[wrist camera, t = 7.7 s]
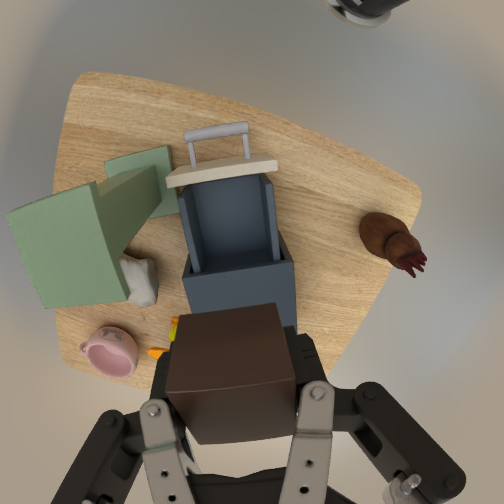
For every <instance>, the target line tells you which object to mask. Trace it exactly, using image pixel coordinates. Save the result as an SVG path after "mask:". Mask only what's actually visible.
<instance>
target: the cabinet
mask: <svg viewBox="0 0 504 504" xmlns="http://www.w3.org/2000/svg"><path fill="white" fill-rule="evenodd" d="M278 239H279V250H280V261H274V262H267V263H261V264H254V265H248V266H241V267H234V268H228V269H221V270H214V271H207V272H201V273H194V270H193V266H192V262H191V258H190V254H188V258H187V261H186V265H185V269H184V273H183V276H182V281H183V284H184V288H185V291H186V294H187V298H188V301H189V304H190V308H191V311H192V314H195V313H203V312H211V311H218V310H226V309H233V308H240V307H247V306H253V305H260V304H266V303H272V302H276V304H277V307H278V311H279V315H280V319H281V323H282V327H284V326H290V325H294V328H295V331H296V334H297V312H296V293H295V276H294V262H293V259H292V257H291V255H290V253H289V251H288V249H287V247H286V244H285V242H284V240H283V238H282V236H281V234H280V232H279V231H278Z"/></svg>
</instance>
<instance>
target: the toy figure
mask: <svg viewBox="0 0 504 504" xmlns="http://www.w3.org/2000/svg"><path fill="white" fill-rule="evenodd" d="M178 319H179V317H173V318H172V320H173V321H172V322H171V325H172V326H173V328H172V329H171V330H170V333H169V339H170V342H172V341H174V339H175V334H176V329H177V324H178ZM169 350H170V349H165V348H159V347H153V348H150V349H148V351H147V353H148V354H149V355H150V356H151V357H152V358H154V359H156V360H158V358H159V357H160V356H161V354H162V353H163V352H166V351H169Z"/></svg>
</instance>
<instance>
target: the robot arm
mask: <svg viewBox="0 0 504 504" xmlns="http://www.w3.org/2000/svg"><path fill="white" fill-rule="evenodd" d="M336 1H337V3H338V4H339V5H340V6H341V7H342V8H343V9H344V10H346V11H347V12H349V13H350V14H352V15H354V16H356V17H359V18H363V19H376V18H378V17H380V16H382V15H383V14H384V13H386V12H388V11H390V10H392V9H393V8H395V7H397V6H399V5H401V4H403V3H405V2H407V1H409V0H336ZM283 330H284V334H285V338H286V342H287V346H288V350H289V354H290V358H291V362H292V365H293V369H294V373H295V377H296V408H297V412H298V416H297V422H296V428H295V432H294V433H293V437H292V443H291V448H290V453H289V458H288V463H287V467H281V468H275V469H267V470H262V471H259V472H256V473H253V474H250V475H247V476H244V477H240V478H234V477H228V476H222V475H216V474H202V472H201V470H200V469H199V467H198V465H197V462H196V460H195V457H194V454H193V451H192V448H191V445H190V442H189V439H188V436H187V433H186V432H185V431H186V425H185V423H184V422H183V420H182V419H181V417H180V416H179V414H178V413H177V411H176V409H175V408H174V406H173V405H172V403H171V401H170V400H169V398H168V396H167V395H166V393H165V389H166V383H167V377H168V372H169V366H170V360H171V355H172V350H173V344H174V341H172V342H171V345H170V350H169V351H166V352H163V353H162V354H161V356H160V357H159V358H158V361H157V365H156V370H155V376H154V379H153V384H152V389H151V394H150V399H149V400H148V401H147V402H145V403H144V404H143V405H142V407H141V408H140V410H139V411H137V412H134V413H130V414H126V415H123V414H122V413H121V412H119V411H117V410H108V411H106V412H104V413H103V414H102V415H101V416H100V418H99V419H98V421H97V423H96V424H95V426H94V428H93V429H92V431H91V433H90V434H89V436H88V438H87V440H86V441H85V443H84V445H83V446H82V448H81V450H80V451H79V453H78V455H77V457H76V459H75V460H74V462H73V464H72V465H71V467H70V469H69V471H68V473H67V474H66V476H65V478H64V480H63V482H62V483H61V485H60V487H59V489H58V491H57V493H56V495H55V497H54V499H53V500H52V502H51V504H124V502H125V500H126V498H127V495H128V493H129V491H130V489H131V487H132V485H133V482H134V480H135V478H136V476H137V474H138V472H139V469H140V467H141V465H142V463H143V462H144V466H145V471H146V475H147V479H148V483H149V487H150V491H151V495H152V499H153V502H154V504H356V503H355V502H353V501H351V500H350V499H348V498H346V497H345V496H343V495H342V494H340V493H339V492H337V491H335V490H334V489H332V488H331V487H329V486H328V485H327V482H328V475H329V466H330V458H331V448H332V431H345V432H349V434H350V435H351V436H352V438H353V439H354V440H355V442H356V443H357V444H358V445H359V447H360V448H361V449H362V451H363V452H364V453H365V454H366V455H367V457H368V458H369V459H370V461H371V462H372V463H373V465H374V466H375V467H376V468H377V470H378V471H379V472H380V473H381V475H382V476H383V477H384V478H385V479H386V481H387V482H388V485H386V487H385V488H384V491H383V500H384V501H385V504H443V503H445V502H447V501H449V500H450V499H452V498H454V497H456V496H457V495H458V494H459V493H460V492H461V491H462V490H463V489H464V487H465V484H466V475H465V473H464V471H463V470H462V469H461V468H460V467H459V466H458V465H457V464H456V463H455V462H454V461H453V460H452V459H451V457H450V456H448V454H447V453H446V452H445V451H444V450H443V449H442V448H441V447H440V446H439V445H438V444H437V443H436V442H435V441H434V440H433V439H432V438H431V437H430V435H429V434H428V433H427V432H426V431H425V430H424V429H423V428H422V427H421V426H420V425H419V424H418V423H417V422H416V421H415V420H414V419H413V418H412V417H411V416H410V415H409V413H408V412H406V410H405V409H404V408H403V407H402V406H401V405H400V404H399V403H398V402H397V401H396V400H395V399H394V398H393V397H392V396H391V395H390V394H389V393H388V392H387V390H385V388H384V387H383V386H381V385H380V384H378V383H376V382H365V383H362V384H360V385H359V386H358V387H357V388H356V389H340V388H336V387H334V386H333V385H331V384H330V383H329V382H328V381H327V379H326V376H325V373H324V370H323V367H322V364H321V362H320V359H319V356H318V353H317V351H316V348H315V345H314V342H313V340H312V339H311V338H310V337H309V336H308V335H307V334H306V333H305V334H299V335H297V334H296V331H295V328H294V325H290V326H284V327H283Z"/></svg>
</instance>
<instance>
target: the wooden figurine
mask: <svg viewBox="0 0 504 504" xmlns="http://www.w3.org/2000/svg"><path fill="white" fill-rule="evenodd" d="M360 237H361V240H362V242H363V244H364V245H365V247H366V249H367V250H368V251H369V252H370V253H372V254H373V255H376V256H378V257H380V258H383V259H387V260H388V261H389V262H390V263H391V264H392V265H393V266H394V267H396V268H398V269H401V270H405V271H407V272H408V273H409V274H410V275H411V276H412V277H413V278H415V277H416V275H415V273H414V271H413V269H412V267H414V268H416V269H418V270H419V271H421V272H424V269H423V268H422V267H421V265H423V266H425V262H424V261H427V257H426V256H425V255H424V253H423V252H422V251H421V246H420V244H419V242H418V241H417V239H415V238H414V237H413V236H412V235H411V234H410V233H409V230H408V228H407V226H406V225H405V223H404V222H402V221H401V220H399V219H397V218H395V217H393V216H391V215H388V214H384V213H376V212H373V213H370V214H367V215H366V216H365V217H364V218H363V220H362V221H361V224H360ZM420 264H421V265H420Z"/></svg>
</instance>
